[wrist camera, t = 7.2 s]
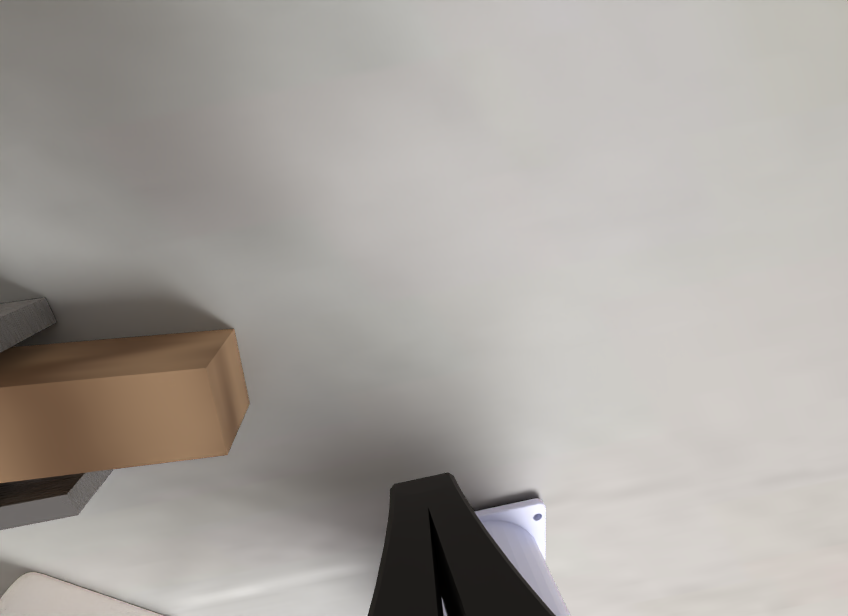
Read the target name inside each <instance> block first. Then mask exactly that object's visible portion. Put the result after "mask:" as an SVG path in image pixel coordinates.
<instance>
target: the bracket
mask: <svg viewBox="0 0 848 616" xmlns="http://www.w3.org/2000/svg"><path fill="white" fill-rule="evenodd" d="M56 322H57V321H56V319H55V317H54V315H53V313H52V311H51V309H50V306H49V304H48V302H47V300H46V298H37V299H30V300H23V301H16V302H8V303H1V304H0V353H1V352H2V351H4V350H6V349H8V348H10V347H12V346H14V345H15V344H17V343H19V342H21V341H23V340H25V339H26V338H28V337H30V336H32V335H34V334H36V333H38V332H39V331H41V330H43V329H45V328H47V327H49V326H50V325H52V324H54V323H56ZM113 470H114V469H110V470H102V471H94V472H86V473H78V474H70V475H62V476H54V477H46V478H38V479H30V480H22V481H14V482H6V483H0V530H3V529H8V528H14V527H19V526H24V525H29V524H34V523H39V522H44V521H50V520H55V519H60V518H65V517H70V516H75V515H78V514H79V513H80V512H81V510H82V509H83V508H84V507H85V505H86V504H87V503H88V502H89V500H90V499H91V498H92V496H93V495H94V494H95V493H96V491H97V490H98V489H99V487H100V486H101V485H102V484H103V482H104V481H105V480H106V479H107V477H108V476H109V475H110V473H111V472H112V471H113Z"/></svg>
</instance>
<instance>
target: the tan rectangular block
mask: <svg viewBox="0 0 848 616" xmlns="http://www.w3.org/2000/svg"><path fill="white" fill-rule="evenodd" d="M249 404H250V402H249V397H248V393H247V388H246V383H245V378H244V373H243V369H242V364H241V359H240V354H239V350H238V345H237V340H236V335H235V330H234V329H224V330H212V331H200V332H188V333H176V334H164V335H152V336H140V337H128V338H115V339H103V340H91V341H79V342H67V343H55V344H43V345H31V346H19V347H10V348H8V349H6V350H4V351H2V352H1V353H0V483H6V482H14V481H22V480H30V479H38V478H46V477H54V476H62V475H70V474H78V473H86V472H94V471H102V470H110V469H119V468H127V467H135V466H143V465H151V464H159V463H167V462H175V461H183V460H191V459H199V458H207V457H215V456H223V455H228V452H229V450H230V448H231V445H232V443H233V441H234V439H235V436H236V434H237V432H238V429H239V427H240V425H241V422H242V420H243V418H244V415H245V413H246V411H247V408H248V406H249Z"/></svg>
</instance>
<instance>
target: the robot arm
mask: <svg viewBox="0 0 848 616" xmlns="http://www.w3.org/2000/svg"><path fill="white" fill-rule="evenodd" d="M545 550H546V506H545V504H544V502H543V501H542V500H541V499H539V498H534V499H530V500H525V501H521V502H516V503H511V504H507V505H502V506H497V507H493V508H488V509H484V510H479V511H474V510H473V509H472V507H471V506H470V504H469V503H468V501H467V499H466V498H465V496H464V494H463V493H462V491H461V489H460V487H459V486H458V484H457V482H456V480H455V478H454V476H453V475H452V474H450V473H444V474H439V475H435V476H430V477H425V478H421V479H416V480H411V481H407V482H402V483H397V484H394V485H393V486H392V488H391V489H390V507H389V517H388V525H387V531H386V537H385V543H384V548H383V553H382V558H381V563H380V567H379V572H378V577H377V582H376V586H375V590H374V594H373V598H372V601H371V605H370V609H369V613H368V616H571V615H570V612H569V610H568V608H567V606H566V604H565V602H564V600H563V598H562V596H561V593H560V591H559V589H558V587H557V585H556V583H555V581H554V579H553V577H552V574H551V572H550V570H549V568H548V566H547V564H546V562H545Z"/></svg>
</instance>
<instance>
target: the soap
mask: <svg viewBox="0 0 848 616" xmlns="http://www.w3.org/2000/svg"><path fill="white" fill-rule="evenodd" d="M0 616H164V615H161V614H158V613H155V612H152V611H149V610H146V609H143V608H140V607H137V606H134V605H131V604H129V603H126V602H123V601H120V600H117V599H114V598H111V597H108V596H106V595H103V594H100V593H97V592H93V591H91V590H88V589H85V588H82V587H79V586H76V585H73V584H71V583H68V582H65V581H62V580H59V579H56V578H53V577H50V576H47V575H44V574H41V573H37V572H28V573H26V574H24V575H22V576H21V577H19V578H18V579H17V580H16V581H15V582H14V583H13V584H12V585H11V586H10V587H9V589H8V590H7V591H6V592H5V593H4V595H3V596H2V597H1V598H0Z"/></svg>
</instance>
